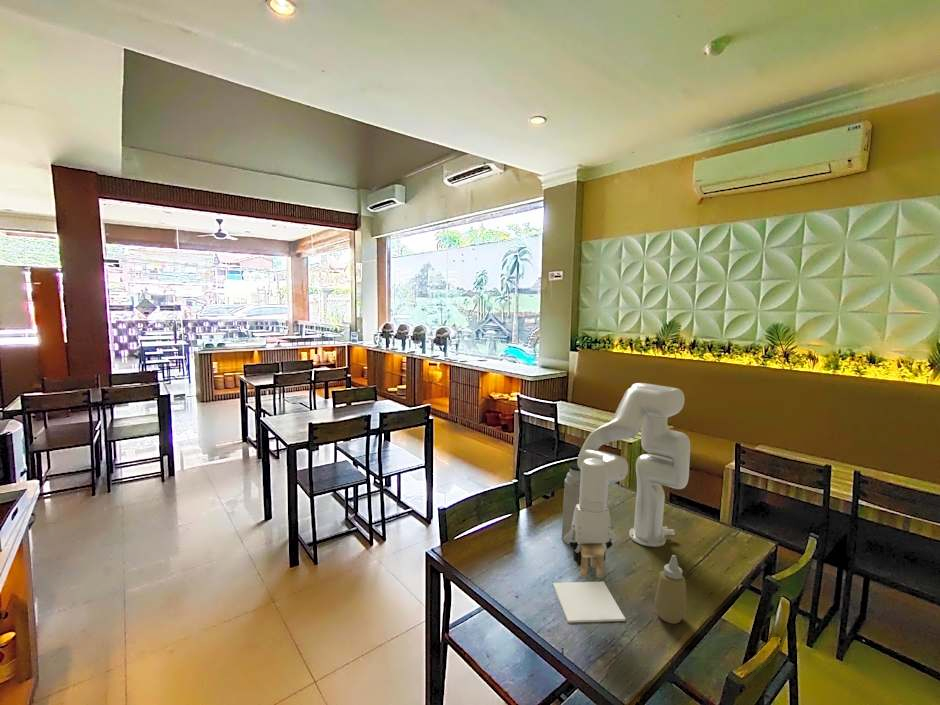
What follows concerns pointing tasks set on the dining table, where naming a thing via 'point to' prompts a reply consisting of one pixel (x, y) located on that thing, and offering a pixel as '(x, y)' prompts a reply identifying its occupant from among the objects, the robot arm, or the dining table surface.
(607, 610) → the mat
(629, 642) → the dining table surface
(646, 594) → the dining table surface
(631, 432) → the robot arm
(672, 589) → the squeeze bottle
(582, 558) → the stool
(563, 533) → the thermos bottle
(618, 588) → the dining table surface
